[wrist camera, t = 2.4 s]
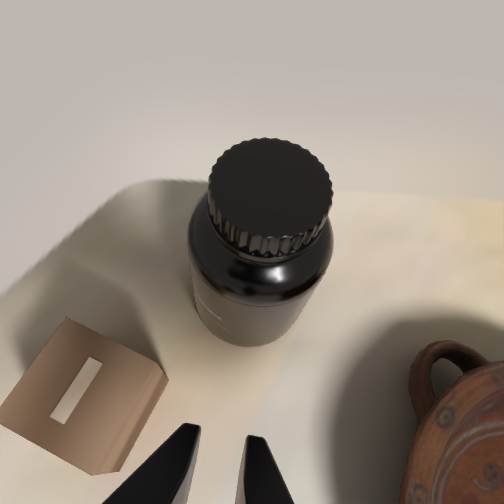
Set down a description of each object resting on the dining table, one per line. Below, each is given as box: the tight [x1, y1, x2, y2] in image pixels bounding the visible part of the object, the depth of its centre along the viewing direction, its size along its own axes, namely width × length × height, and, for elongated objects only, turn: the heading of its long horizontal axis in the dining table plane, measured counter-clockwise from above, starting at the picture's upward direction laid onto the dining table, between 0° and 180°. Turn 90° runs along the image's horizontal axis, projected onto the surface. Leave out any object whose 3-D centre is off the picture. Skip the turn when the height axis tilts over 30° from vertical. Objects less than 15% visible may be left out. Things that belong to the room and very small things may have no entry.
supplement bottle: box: [187, 138, 334, 347], centre depth 20 cm, size 7×7×12 cm
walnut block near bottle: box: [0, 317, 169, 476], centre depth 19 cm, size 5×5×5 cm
